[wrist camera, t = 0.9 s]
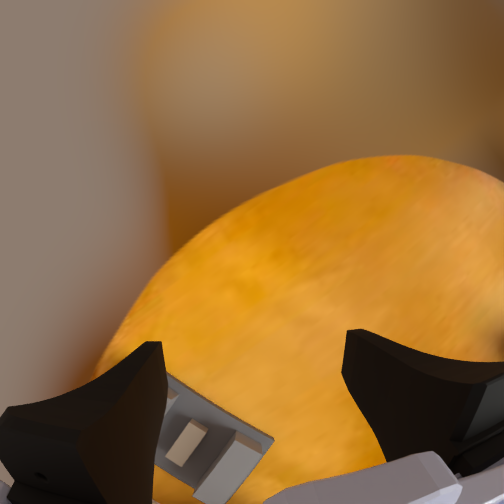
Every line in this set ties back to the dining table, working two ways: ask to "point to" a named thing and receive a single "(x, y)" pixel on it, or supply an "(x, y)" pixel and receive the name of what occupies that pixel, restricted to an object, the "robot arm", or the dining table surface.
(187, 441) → the grey fixture base
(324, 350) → the dining table surface
